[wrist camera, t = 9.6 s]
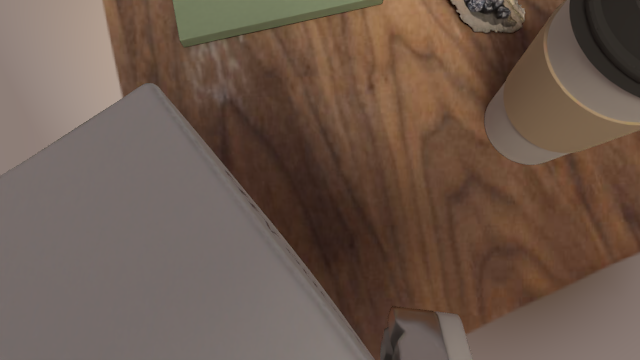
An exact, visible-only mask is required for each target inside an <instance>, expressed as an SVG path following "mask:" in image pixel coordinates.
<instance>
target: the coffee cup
mask: <svg viewBox="0 0 640 360" xmlns="http://www.w3.org/2000/svg"><path fill="white" fill-rule="evenodd" d="M484 123H485V130H486V133H487V136H488V138H489V140H490V142H491V143H492V145H493V146H494V147H495V148H496V150H497V151H498V152H500V153H501V154H502V155H503V156H505V157H506V158H508V159H510V160H512V161H514V162H517V163H521V164H527V165H535V164H541V163H545V162H547V161H550V160H553V159H555V158H558V157H561V156H563V155H566V154H569V153H574V152H579V151H582V150H585V149H588V148H591V147H594V146H597V145H599V144H602V143H605V142H608V141H611V140H614V139H616V138H619V137H622V136H625V135H628V134H630V133H633V132H636V131H639V130H640V0H565V1H564V2H563V3H562V4H561V5H559V6H558V7H557V9H556V10H555V11H554V12H553V14H552V15H551V16H550V18H549V19H548V21H547V22H546V23H545V25H544V26H543V28H542V29H541V30H540V32H539V33H538V34H537V36H536V37H535V39H534V40H533V41H532V43H531V44H530V46H529V47H528V48H527V50H526V51H525V53H524V54H523V55H522V57H521V58H520V59H519V61H518V62H517V64H516V65H515V66H514V68H513V69H512V71H511V72H510V74H509V75H508V77H507V79H506V81H505V83H504V84H503V85H502V87H501V88H500V89H499V91H498V92H497V93H496V95H495V96H494V97H493V99H492V100H491V101H490V103H489V105H488V107H487V109H486V112H485V119H484Z"/></svg>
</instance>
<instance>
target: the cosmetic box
mask: <svg viewBox="0 0 640 360" xmlns="http://www.w3.org/2000/svg"><path fill="white" fill-rule="evenodd" d="M0 360H374V358H373V357H372V355H371V354H370V352H369V351H368V350H367V348H366V347H365V345H364V344H363V343H362V341H361V340H360V338H359V337H358V336H357V334H356V333H355V331H354V330H353V329H352V327H351V326H350V324H349V323H348V322H347V320H346V319H345V317H344V316H343V315H342V313H341V312H340V310H339V309H338V308H337V306H336V305H335V304H334V302H333V301H332V300H331V298H330V297H329V295H328V294H327V293H326V291H325V290H324V289H323V287H322V286H321V285H320V283H319V282H318V281H317V279H316V278H315V277H314V275H313V274H312V273H311V272H310V270H309V269H308V268H307V266H306V265H305V264H304V263H303V261H302V260H301V259H300V258H299V256H298V255H297V254H296V252H295V251H294V250H293V249H292V247H291V246H290V245H289V244H288V242H287V241H286V240H285V239H284V237H283V236H282V235H281V234H280V232H279V231H278V230H277V229H276V227H275V226H274V225H273V224H272V222H271V221H270V220H269V219H268V218H267V216H266V215H265V214H264V213H263V211H262V210H261V209H260V208H259V207H258V205H257V204H256V203H255V202H254V201H253V199H252V198H251V197H250V196H249V195H248V193H247V192H246V191H245V190H244V189H243V187H242V186H241V185H240V184H239V182H238V181H237V180H236V179H235V178H234V176H233V175H232V174H231V173H230V172H229V170H228V169H227V168H226V167H225V166H224V164H223V163H222V162H221V161H220V160H219V158H218V157H217V156H216V155H215V153H214V152H213V151H212V150H211V149H210V147H209V146H208V145H207V144H206V143H205V141H204V140H203V139H202V138H201V137H200V135H199V134H198V133H197V132H196V131H195V129H194V128H193V127H192V126H191V125H190V123H189V122H188V121H187V120H186V119H185V118H184V116H183V115H182V114H181V113H180V112H179V111H178V109H177V108H176V107H175V106H174V105H173V103H172V102H171V101H170V100H169V99H168V98H167V96H166V95H165V94H164V93H163V92H162V90H161V89H160V88H159V87H158V86H157V85H155V84H153V83H146V84H144V85H142V86H140V87H138V88H137V89H135V90H134V91H132V92H131V93H129V94H128V95H127V96H125V97H124V98H122V99H121V100H119V101H117V102H116V103H114V104H113V105H111V106H110V107H108V108H107V109H105V110H103V111H102V112H100V113H99V114H97V115H96V116H94V117H93V118H91V119H89V120H88V121H86V122H85V123H83V124H81V125H80V126H78V127H77V128H75V129H74V130H72V131H71V132H69V133H68V134H66V135H64V136H63V137H61V138H60V139H58V140H57V141H55V142H54V143H52V144H51V145H49V146H48V147H46V148H44V149H43V150H41V151H40V152H38V153H37V154H35V155H34V156H32V157H30V158H29V159H27V160H26V161H24V162H22V163H21V164H20V165H17V166H16V167H14V168H13V169H11V170H9V171H8V172H6V173H4V174H3V175H1V176H0Z"/></svg>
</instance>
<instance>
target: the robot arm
mask: <svg viewBox="0 0 640 360" xmlns="http://www.w3.org/2000/svg"><path fill="white" fill-rule="evenodd" d="M381 360H473V357H472V354H471V350H470V347H469V344H468V341H467V337H466V334H465V331H464V328H463V325H462V321H461V318H460V317H459V316H458V315H457V314H451V313H444V312H434V311H429V310H421V309H412V308H404V307H396V306H392V307H391V308H390V311H389V314H388V327H387V328H386V329H384V332H383V337H382V342H381Z"/></svg>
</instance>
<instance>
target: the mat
mask: <svg viewBox="0 0 640 360" xmlns="http://www.w3.org/2000/svg"><path fill="white" fill-rule="evenodd" d="M382 3H383V0H173V5H174V11H175V17H176V22H177V28H178V33H179V39H180V42H181V43H182V45H183V47H188V46H192V45H197V44H201V43H206V42H210V41H215V40H220V39H224V38H229V37H233V36H238V35H242V34H247V33H251V32H256V31H260V30H265V29H270V28H274V27H279V26H283V25H288V24H292V23H297V22H301V21H306V20H310V19H315V18H320V17H324V16H329V15H333V14H338V13H342V12H347V11H351V10H356V9H360V8H365V7H369V6H374V5H379V4H382Z"/></svg>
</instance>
